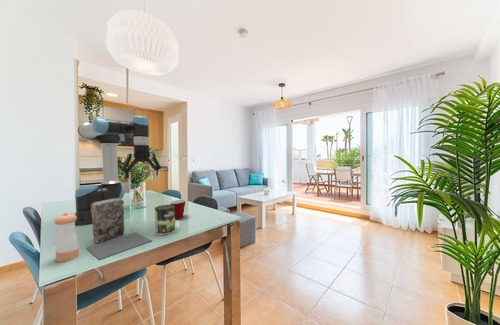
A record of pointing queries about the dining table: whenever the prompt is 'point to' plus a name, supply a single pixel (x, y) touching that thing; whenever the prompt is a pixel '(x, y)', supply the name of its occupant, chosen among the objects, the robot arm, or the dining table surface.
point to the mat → (117, 245)
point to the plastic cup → (178, 208)
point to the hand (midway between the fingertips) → (142, 182)
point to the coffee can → (165, 219)
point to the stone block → (107, 219)
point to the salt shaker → (66, 238)
